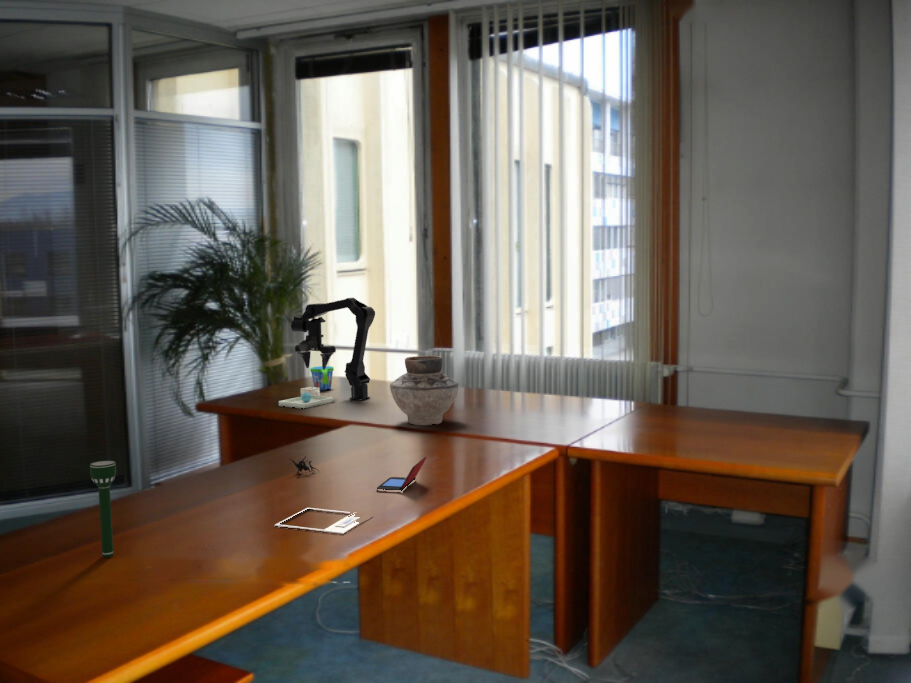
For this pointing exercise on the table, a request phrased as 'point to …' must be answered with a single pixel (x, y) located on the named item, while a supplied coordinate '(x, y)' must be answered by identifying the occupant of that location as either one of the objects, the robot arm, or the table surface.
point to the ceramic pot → (424, 390)
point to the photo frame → (338, 527)
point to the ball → (306, 397)
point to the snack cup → (322, 377)
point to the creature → (303, 466)
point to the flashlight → (104, 500)
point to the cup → (311, 391)
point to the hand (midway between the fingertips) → (315, 368)
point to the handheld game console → (402, 479)
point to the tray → (301, 404)
